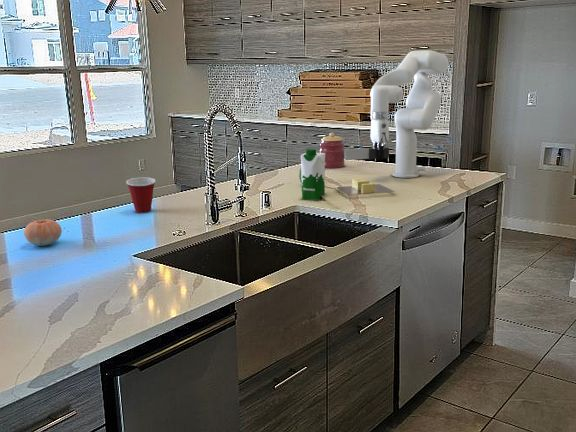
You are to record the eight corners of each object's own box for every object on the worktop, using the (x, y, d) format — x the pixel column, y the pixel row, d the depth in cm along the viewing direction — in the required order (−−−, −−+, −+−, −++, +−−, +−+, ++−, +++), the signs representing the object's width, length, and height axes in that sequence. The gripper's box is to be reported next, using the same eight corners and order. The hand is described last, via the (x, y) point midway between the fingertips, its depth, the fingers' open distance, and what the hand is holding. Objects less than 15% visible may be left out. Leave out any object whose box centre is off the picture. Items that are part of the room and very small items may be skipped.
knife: (386, 157, 260) (386, 147, 259) (388, 158, 258) (389, 147, 257) (344, 159, 255) (344, 149, 254) (345, 160, 253) (346, 149, 252)
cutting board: (379, 187, 255) (379, 183, 255) (395, 195, 240) (395, 191, 240) (335, 190, 250) (335, 187, 250) (349, 198, 235) (349, 195, 235)
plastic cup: (132, 216, 215) (129, 184, 212) (125, 210, 225) (122, 179, 222) (161, 212, 220) (159, 180, 217) (153, 206, 230) (151, 176, 226)
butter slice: (372, 191, 241) (373, 183, 240) (374, 192, 239) (375, 184, 238) (361, 192, 239) (361, 184, 239) (363, 193, 238) (363, 184, 237)
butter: (362, 186, 251) (362, 178, 250) (369, 189, 245) (369, 181, 244) (351, 187, 250) (351, 179, 249) (357, 190, 243) (357, 182, 242)
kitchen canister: (318, 168, 303) (318, 134, 299) (321, 164, 315) (320, 131, 311) (343, 168, 301) (343, 133, 296) (345, 164, 313) (345, 131, 309)
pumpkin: (25, 251, 177) (22, 225, 175) (25, 241, 187) (22, 217, 185) (64, 246, 181) (61, 221, 179) (62, 237, 191) (59, 213, 189)
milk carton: (299, 199, 236) (298, 150, 231) (307, 194, 244) (307, 146, 239) (319, 201, 232) (319, 151, 227) (327, 196, 240) (327, 147, 235)
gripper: (395, 117, 247) (394, 160, 252) (379, 114, 262) (379, 155, 267) (378, 117, 245) (377, 161, 250) (364, 114, 260) (363, 156, 265)
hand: (378, 157), depth 258 cm, fingers closed on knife, 2 cm apart
